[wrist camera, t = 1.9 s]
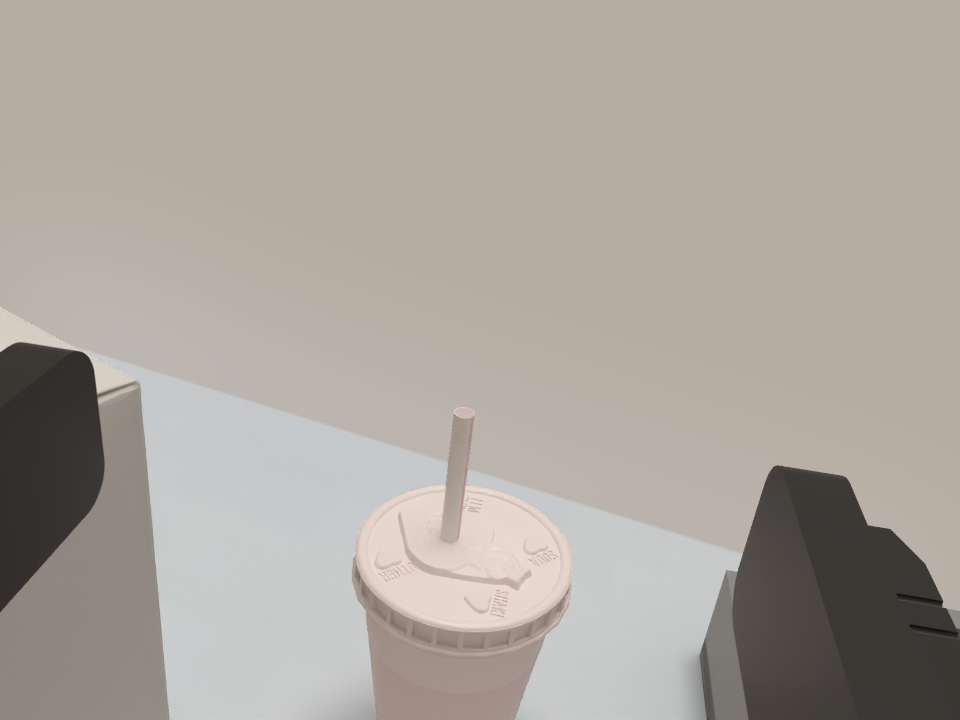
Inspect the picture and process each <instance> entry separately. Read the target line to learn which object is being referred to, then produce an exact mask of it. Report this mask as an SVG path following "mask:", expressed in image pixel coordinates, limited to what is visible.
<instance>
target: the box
mask: <svg viewBox="0 0 960 720" xmlns="http://www.w3.org/2000/svg"><path fill="white" fill-rule="evenodd" d="M736 576H737V572H734V571H728V570H726V573H725V576H724V580H723V583H722V586H721V589H720V592H719V596H718V599H717V602H716V605H715V608H714V611H713V615H712V618H711V621H710V624H709V627H708V631H707V634H706V637H705V640H704V643H703V647H702V650H701V653H700V660H701V669H702V678H703V687H704V696H705V705H706V714H707V720H749V719H748V714H747V708H746V702H745V696H744V690H743V684H742V678H741V672H740V666H739V660H738V654H737V648H736V642H735V636H734V630H733V619H732V607H733V594H734V586H735V581H736ZM947 610H948V612H949V614H950V616H951V618H952V620H953V623H954V625H955V627H956V629H957V631H958V640H960V611H956V610H950V609H947Z"/></svg>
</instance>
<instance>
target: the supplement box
mask: <svg viewBox="0 0 960 720" xmlns="http://www.w3.org/2000/svg"><path fill="white" fill-rule="evenodd" d="M17 342H25V343H31V344H38V345H44V346H50V347H56V348H62V349H69V350H75V351H80V352H83V351H81V350H79V349H77V348H75V347H74V346H72V345H70V344H68V343H66V342H64V341H62V340H60V339H58V338H56V337H54V336H53V335H51V334H49V333H47V332H45V331H43V330H41V329H40V328H37V327H36V326H34V325H32V324H30V323H29V322H27V321H25V320H23V319H21V318H19V317H18V316H16V315H14V314H12V313H10V312H8V311H6V310H4V309H2V308H1V307H0V352H1V351H3V350H4V349H5V348H7V347H8V346H10V345H12V344H14V343H17ZM83 353H85V352H83ZM85 354H86V355H87V356H88V357H89V358H90V360H91V362H92V364H93V368H94V373H95V380H96V389H97V398H98V407H99V415H100V424H101V433H102V442H103V451H104V460H105V470H104V478H103V483H102V487H101V490H100V493H99V495H98V498H97V500H96V502H95V504H94V506H93V507H92V509H91V511H90V512H89V513H88V514H87V516H86V517H85V518H84V519H83V520H82V521H81V522H80V523H79V525H78V526H77V527H76V528H75V529H74V530H73V531H72V532H71V534H70V535H69V536H68V537H67V538H66V539H65V540H64V541H63V543H62V544H61V545H60V546H59V547H58V548H57V549H56V550H55V552H54V553H53V554H52V555H51V556H50V557H49V558H48V559H47V561H46V562H45V563H44V564H43V565H42V566H41V567H40V568H39V570H38V571H37V572H36V573H35V574H34V575H33V576H32V577H31V579H30V580H29V581H28V582H27V583H26V584H25V585H24V586H23V588H22V589H21V590H20V591H19V592H18V593H17V594H16V595H15V597H14V598H13V599H12V600H11V601H10V602H9V603H8V604H7V606H6V607H5V608H4V609H3V610H2V611H1V612H0V720H169V709H168V700H167V688H166V676H165V665H164V654H163V642H162V631H161V619H160V608H159V597H158V586H157V575H156V564H155V553H154V540H153V528H152V517H151V505H150V495H149V483H148V471H147V460H146V448H145V437H144V428H143V418H142V404H141V389H140V382H139V381H138V380H137V379H135V378H133V377H130V376H128V375H126V374H124V373H122V372H121V371H119V370H117V369H115V368H113V367H111V366H109V365H107V364H106V363H104V362H102V361H100V360H98V359H96V358H94V357H92V356H91V355H89V354H87V353H85Z"/></svg>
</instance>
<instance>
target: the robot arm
mask: <svg viewBox="0 0 960 720" xmlns="http://www.w3.org/2000/svg"><path fill="white" fill-rule="evenodd" d="M104 470H105V460H104V451H103V442H102V433H101V424H100V415H99V407H98V398H97V389H96V380H95V373H94V368H93V364H92V362H91V360H90V358H89V357H88V356H87V355H86V354H85V353H83V352H80V351H75V350H69V349H62V348H56V347H50V346H44V345H38V344H31V343H25V342H17V343H14V344H12V345H10V346H8V347H7V348H5V349H4V350H3V351H1V352H0V612H1V611H2V610H3V609H4V608H5V607H6V606H7V604H8V603H9V602H10V601H11V600H12V599H13V598H14V597H15V595H16V594H17V593H18V592H19V591H20V590H21V589H22V588H23V586H24V585H25V584H26V583H27V582H28V581H29V580H30V579H31V577H32V576H33V575H34V574H35V573H36V572H37V571H38V570H39V568H40V567H41V566H42V565H43V564H44V563H45V562H46V561H47V559H48V558H49V557H50V556H51V555H52V554H53V553H54V552H55V550H56V549H57V548H58V547H59V546H60V545H61V544H62V543H63V541H64V540H65V539H66V538H67V537H68V536H69V535H70V534H71V532H72V531H73V530H74V529H75V528H76V527H77V526H78V525H79V523H80V522H81V521H82V520H83V519H84V518H85V517H86V516H87V514H88V513H89V512H90V511H91V509H92V507H93V506H94V504H95V502H96V500H97V498H98V495H99V493H100V490H101V487H102V483H103V478H104ZM942 603H943V600H942V598H941V596H940V594H939V592H938V590H937V587H936V585H935V583H934V581H933V579H932V577H931V575H930V573H929V571H928V569H927V567H926V565H925V564H924V562H923V561H922V560H921V559H919V557H918V556H917V555H916V554H915V553H914V552H913V551H912V550H911V549H910V548H909V547H908V546H907V545H906V544H905V543H904V542H903V541H902V540H901V539H900V538H898V536H896V534H894V532H893V531H892V530H891V529H886V528H880V527H874V526H868V525H867V523H866V520H865V518H864V515H863V513H862V511H861V508H860V506H859V504H858V501H857V499H856V497H855V494H854V492H853V489H852V487H851V485H850V483H849V481H848V479H847V478H846V477H844V476H840V475H834V474H828V473H821V472H815V471H809V470H803V469H796V468H790V467H784V466H775V467H773V468H772V470H771V471H770V473H769V474H768V477H767V479H766V482H765V485H764V488H763V491H762V494H761V497H760V501H759V504H758V507H757V510H756V513H755V517H754V520H753V523H752V526H751V530H750V533H749V536H748V539H747V543H746V546H745V549H744V552H743V556H742V559H741V562H740V565H739V568H738V572H737V576H736V581H735V586H734V594H733V607H732V619H733V630H734V636H735V642H736V648H737V654H738V660H739V666H740V672H741V678H742V684H743V690H744V696H745V702H746V708H747V714H748V719H749V720H960V640H958V631H957V629H956V627H955V625H954V623H953V620H952V618H951V616H950V614H949V612H948V610H947V609H946V608H942Z"/></svg>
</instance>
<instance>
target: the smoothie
mask: <svg viewBox="0 0 960 720" xmlns="http://www.w3.org/2000/svg"><path fill="white" fill-rule="evenodd" d="M473 421H474V411H473V410H471V409H469V408H464V407H462V408H457V409H455V410H454V417H453V425H452V434H451V443H450V453H449V461H448V470H447V480H446V485H436V486H427V487H423V488H419V489H414V490H410V491H408V492H405V493H402V494H400V495H398V496H395V497H393V498H392V499H390V500H388V501H386V502H385V503H383V504H382V505H380V506H379V507H378V508H376V509H375V510H374V511H373V512H372V513H371V514H370V515H369V516H368V517H367V519H366V520H365V521H364V523H363V524H362V526H361V528H360V530H359V532H358V535H357V539H356V544H355V556H354V558H353V569H352V582H353V585H354V588H355V591H356V595H357V598H358V601H359V602H360V603H361V605H362V606H363V607H364V609H365V610H366V620H367V630H368V637H369V647H370V657H371V667H372V677H373V686H374V696H375V706H376V716H377V720H514V718H515V716H516V713H517V710H518V707H519V705H520V702H521V699H522V697H523V694H524V691H525V689H526V686H527V683H528V681H529V678H530V675H531V673H532V670H533V667H534V664H535V662H536V659H537V656H538V654H539V652H540V650H541V647H542V644H543V641H544V638H545V635H546V634H547V633H549V632H550V631H551V630H552V629H553V628H554V627H555V626H557V625H558V623H559V622H560V620H561V618H562V616H563V615H564V613H565V611H566V609H567V608H568V606H569V600H570V593H571V579H572V574H573V559H572V554H571V550H570V548H569V545H568V543H567V541H566V539H565V537H564V536H563V534H562V533H561V531H560V530H559V529H558V528H557V526H556V525H555V524H554V523H553V522H552V521H551V520H550V519H549V518H548V517H546V516H545V515H544V514H543V513H541V512H540V511H539V510H537V509H536V508H535V507H533V506H531V505H529V504H527V503H526V502H524V501H522V500H520V499H518V498H516V497H513V496H511V495H508V494H506V493H503V492H500V491H496V490H492V489H488V488H485V487H478V486H471V485H466V479H467V471H468V463H469V454H470V447H471V439H472V430H473Z"/></svg>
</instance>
